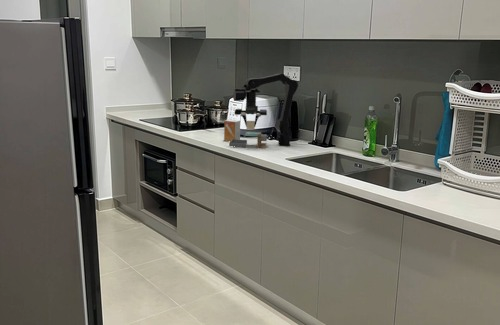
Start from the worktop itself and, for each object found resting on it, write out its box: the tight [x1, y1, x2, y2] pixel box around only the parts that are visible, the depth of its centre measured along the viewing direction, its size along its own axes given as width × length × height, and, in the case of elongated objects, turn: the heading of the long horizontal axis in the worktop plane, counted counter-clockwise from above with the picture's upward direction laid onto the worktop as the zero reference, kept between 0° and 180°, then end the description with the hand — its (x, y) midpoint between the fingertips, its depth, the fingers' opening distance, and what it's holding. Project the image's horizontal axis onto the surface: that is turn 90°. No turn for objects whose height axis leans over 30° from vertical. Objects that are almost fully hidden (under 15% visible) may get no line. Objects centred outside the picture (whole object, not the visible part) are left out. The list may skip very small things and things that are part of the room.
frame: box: [256, 131, 267, 149], centre depth 287 cm, size 5×13×8 cm, turn 175°
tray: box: [228, 139, 248, 148], centre depth 288 cm, size 9×12×2 cm
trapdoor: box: [244, 131, 268, 142], centre depth 287 cm, size 12×9×4 cm
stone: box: [245, 120, 256, 130], centre depth 284 cm, size 5×5×4 cm
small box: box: [223, 119, 241, 142], centre depth 300 cm, size 8×6×13 cm
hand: (250, 126), depth 284 cm, fingers closed on stone, 5 cm apart
